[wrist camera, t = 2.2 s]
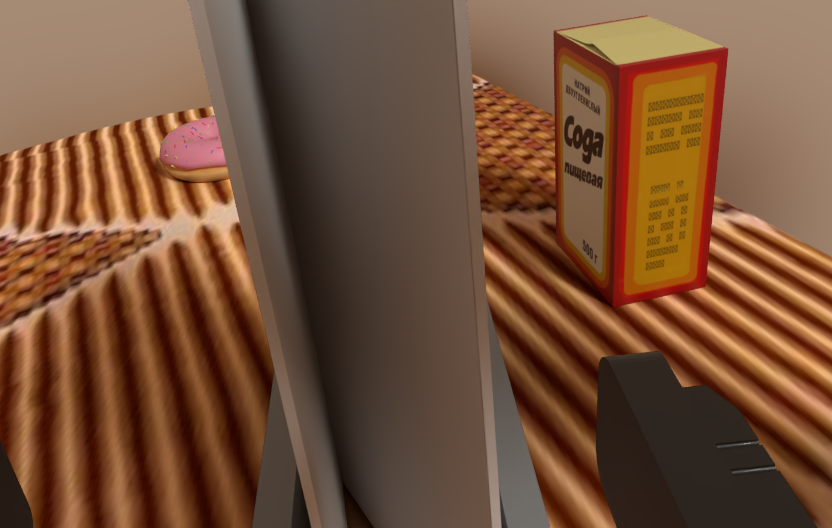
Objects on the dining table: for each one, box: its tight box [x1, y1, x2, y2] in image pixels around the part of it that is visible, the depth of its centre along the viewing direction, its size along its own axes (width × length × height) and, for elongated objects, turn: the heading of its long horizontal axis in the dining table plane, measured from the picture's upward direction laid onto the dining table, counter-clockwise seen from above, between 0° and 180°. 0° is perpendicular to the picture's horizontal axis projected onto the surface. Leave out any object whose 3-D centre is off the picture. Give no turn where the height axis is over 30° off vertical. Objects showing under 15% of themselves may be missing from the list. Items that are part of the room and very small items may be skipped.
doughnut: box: [160, 115, 229, 182], centre depth 79 cm, size 11×11×4 cm
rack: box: [252, 301, 550, 528], centre depth 40 cm, size 11×27×6 cm, turn 4°
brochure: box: [188, 0, 501, 528], centre depth 27 cm, size 14×6×30 cm, turn 9°
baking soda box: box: [554, 16, 728, 307], centre depth 52 cm, size 10×6×16 cm
